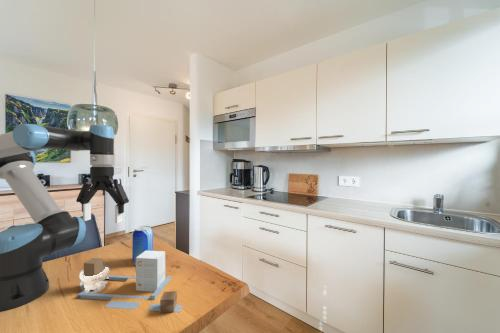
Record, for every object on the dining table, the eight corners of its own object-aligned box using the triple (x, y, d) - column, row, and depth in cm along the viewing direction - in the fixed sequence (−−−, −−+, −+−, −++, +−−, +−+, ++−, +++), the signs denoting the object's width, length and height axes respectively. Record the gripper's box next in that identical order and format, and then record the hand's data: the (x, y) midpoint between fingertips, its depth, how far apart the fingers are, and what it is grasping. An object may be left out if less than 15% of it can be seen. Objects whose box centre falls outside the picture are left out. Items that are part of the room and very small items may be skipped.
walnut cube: (160, 312, 63) (160, 300, 63) (163, 303, 67) (164, 291, 67) (173, 312, 64) (173, 299, 63) (176, 303, 68) (176, 291, 67)
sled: (73, 297, 71) (73, 269, 70) (101, 277, 83) (101, 253, 83) (154, 302, 69) (154, 273, 69) (170, 281, 81) (171, 256, 81)
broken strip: (104, 310, 65) (104, 307, 65) (111, 304, 68) (111, 300, 68) (179, 315, 64) (179, 312, 64) (182, 309, 67) (182, 305, 67)
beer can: (127, 265, 93) (128, 229, 93) (141, 256, 101) (142, 224, 101) (143, 267, 91) (144, 231, 91) (156, 259, 99) (156, 226, 99)
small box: (165, 284, 79) (165, 250, 79) (157, 295, 73) (157, 258, 73) (145, 283, 80) (145, 249, 80) (135, 293, 74) (135, 257, 73)
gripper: (63, 165, 77) (64, 222, 77) (125, 166, 74) (125, 225, 74) (82, 165, 84) (83, 217, 85) (138, 166, 81) (139, 219, 82)
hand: (102, 221), depth 80 cm, fingers open, 13 cm apart
